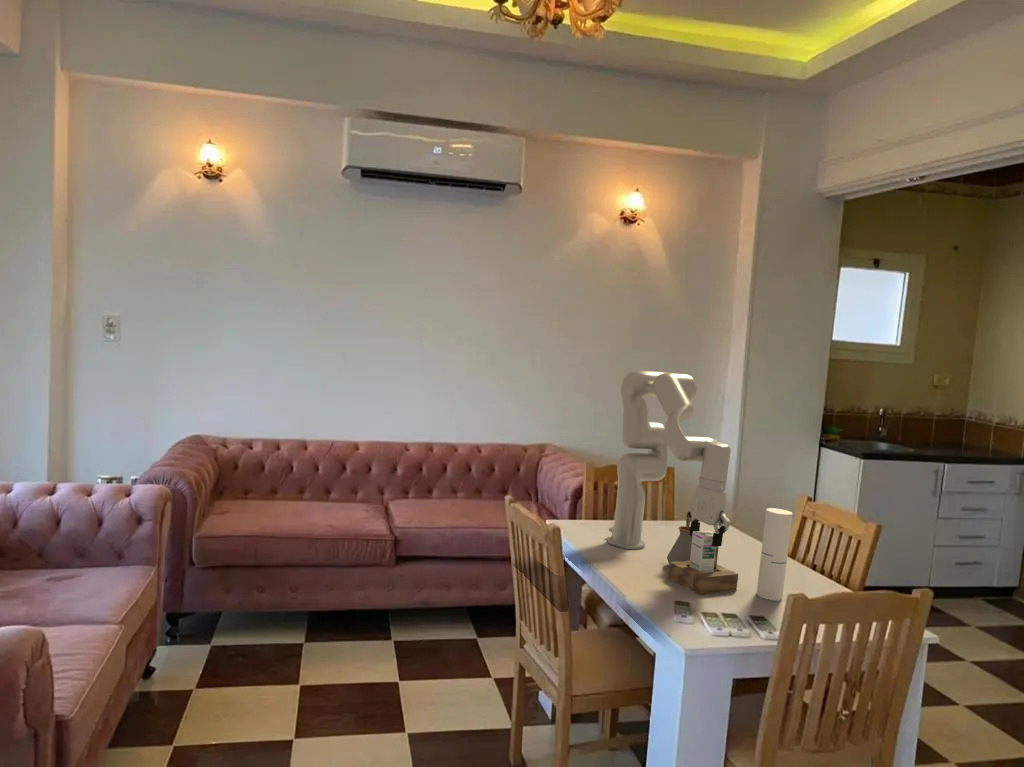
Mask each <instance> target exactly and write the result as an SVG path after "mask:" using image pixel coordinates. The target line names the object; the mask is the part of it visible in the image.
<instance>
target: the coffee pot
mask: <svg viewBox="0 0 1024 767" xmlns="http://www.w3.org/2000/svg"><path fill="white" fill-rule="evenodd" d="M688 513H689V512H688V511H687V512H685V513H684V516H685V517H686V521H685V525H681V526H678V528H677V529H678V530H679V535H678V537H677V539H676V541H675V542H674V544H673V546H672V547H671V549H670V551H669V553H668V554H667V557H666V560H667V563H668V565H669V564H670V562H677V561H688V560H690V557H691V546H692V536H690V535H689V534H690V526H691V522H690V517H689V515H688ZM699 531H701V530H700V529H699Z"/></svg>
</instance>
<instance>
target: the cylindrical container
mask: <svg viewBox="0 0 1024 767" xmlns="http://www.w3.org/2000/svg"><path fill="white" fill-rule="evenodd" d="M793 514H794V513H793V512H792V511H791V510H790V511H789V510H787V509H782V508H777V507H776V508H775V507H770V508H769V507H768V508H766V510H765V519H764V528H763V535H762V536H763V537H762V542H761V543H762V544H761V553H760V559H759V560H760V561H759V570H758V579H757V586H756V596H758V597H760V598H762V599H764V598H765V600H768V599H769V601H781V600H780V599H782V600H783V597H784V596H783V595H784V587H785V579H786V572H787V563H788V562H787V561H788V556H789V555H788V554H789V545H790V538H791V530H792V522H793V521H792V520H793Z"/></svg>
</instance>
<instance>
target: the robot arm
mask: <svg viewBox="0 0 1024 767" xmlns="http://www.w3.org/2000/svg"><path fill="white" fill-rule="evenodd" d="M621 381H622V382H621V385H620V386H621V387H620V394H621V400H622V406H623V407H622V408H623V413H622V414H623V415H622V442H623V445H624V447H626V448H628V449H632V450H633V449H634V450H647V452H646V453H645V452H628V453H625V454H622V455H620V457H619V458H618V461H617V463H616V470H617V471H616V472H617V494H616V502H615V503H616V504H615V513H614V523H613V526H612V527H609V528H608V532H610V533H611V536H609V537H608V538H607V542H608V543H609V544H610V545H611V546H614V547H617V548H621V549H626V550H627V549H628V550H639V549H644V548H645V546H646V542H644V540H642V533H643V532H642V531H643V525H644V524H643V523H644V512H645V505H646V504H645V503H646V492H645V489H644V487H643V485H642V482H656V481H661V480H663V479H664V478H665V476H666V474H667V471H668V459H669V458H668V454H669V450H670V452H671V453H672V455H673V457H675V459H677V460H678V461H680V462H689V463H690V462H698V463H701V470H700V475H699V478H698V480H699V483H698V485H697V486H696V488H695V491H694V495H693V499H692V502H691V504H688V505H687V512H689V513H688V515H689V517H690V526H689V527H690V534H689V535H690V536H692V535H693V531H699V530H700V529H701V528H700V527H701V523H703V524H706V525H708V526H712V527H713V530H714V532H713V533H714V534H713V540H712V546H713V547H717V546H719V547H722V544H723V537H724V534H725V533H726V532H727V531H728V530H729V528H730V526H731V525H732V522H731V520H730V518H728V516H727V515H726V514H727V513H726V512H727V491H726V488H727V480H728V473H729V466H730V460H731V459H730V457H731V446H730V445H729V444H727V443H724V442H719V441H718V440H716V439H714V438H713V437H708V436H686V435H685V434H684V432H683V430H682V429H681V426H680V425H681V424H682V423H684V422H685V421H687V420H688V419H690V418H691V417H692V415H693V413H694V411H695V410H694V405H693V404H692V403H691V401H690V400H692V399H693V398H694V397H695V396H696V394H697V391H698V390H697V389H698V387H697V383H696V381H695V378H693V377H692V376H691V375H689V374H686V373H676V372H666V371H655V370H654V371H652V370H633V371H630V372H628V373H626V375H625V376H624V377H623V379H622V380H621ZM644 397H657V399H658V401H659V404H660V405H661V407H662V409H663V411H664V413H665V415H666V417H667V420H666V422H665V425H664V424H662V423H661V422H658V421H649V407H648V404H647V402H646V400H645V399H644ZM668 449H669V450H668Z"/></svg>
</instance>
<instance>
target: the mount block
mask: <svg viewBox="0 0 1024 767" xmlns="http://www.w3.org/2000/svg"><path fill="white" fill-rule="evenodd" d="M668 565H669V566H668V572H667V573H668V574H667V575H668V576H667V579H669V581H671V582H675V583H676V584H678V585H680V586H682V587H684V588H686V589H688V590H689V591H691V592H693V593H695V594H697V595H699V596H702V595H710V594H720V593H727V592H736V591H737V590H738V589H737V588H738V580H739V573H737V572H735V571H733V570H730V569H728V568H726V567H724V566H721V565H719V564H717V567H716V572H709V573H701V572H699V571H697V570H695V569H693V568H691V567H690V560H688V561H677V562H670V564H669V563H668Z"/></svg>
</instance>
